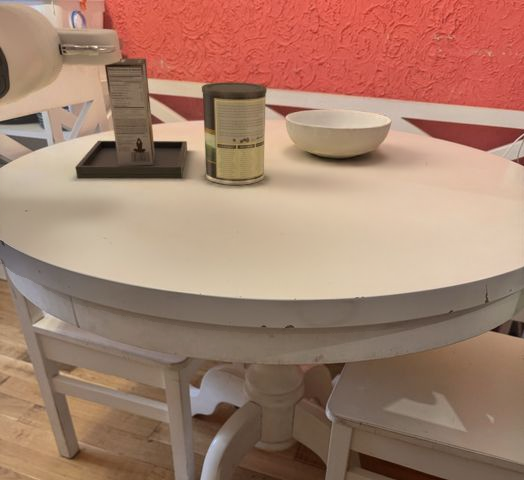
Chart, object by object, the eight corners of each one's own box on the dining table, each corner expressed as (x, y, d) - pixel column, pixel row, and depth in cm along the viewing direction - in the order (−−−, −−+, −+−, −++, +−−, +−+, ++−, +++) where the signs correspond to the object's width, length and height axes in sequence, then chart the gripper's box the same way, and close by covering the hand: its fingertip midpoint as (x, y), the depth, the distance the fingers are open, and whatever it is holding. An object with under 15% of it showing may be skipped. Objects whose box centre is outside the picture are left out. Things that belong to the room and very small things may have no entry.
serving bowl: (356, 139, 114) (360, 106, 110) (405, 163, 97) (412, 125, 94) (270, 144, 108) (271, 109, 104) (307, 170, 92) (310, 130, 88)
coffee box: (121, 153, 96) (108, 57, 87) (155, 153, 97) (146, 58, 88) (118, 166, 89) (103, 62, 80) (154, 165, 90) (144, 63, 80)
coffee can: (193, 177, 86) (188, 86, 78) (230, 165, 93) (229, 80, 85) (240, 189, 81) (240, 93, 73) (275, 175, 88) (279, 86, 80)
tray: (77, 177, 85) (75, 166, 84) (99, 150, 101) (98, 140, 100) (181, 178, 86) (181, 167, 85) (187, 150, 102) (186, 141, 101)
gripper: (107, 19, 57) (125, 16, 69) (-79, 13, 56) (-30, 10, 67) (115, 81, 61) (130, 68, 72) (-60, 77, 59) (-16, 64, 71)
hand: (52, 40), depth 70 cm, fingers open, 8 cm apart
